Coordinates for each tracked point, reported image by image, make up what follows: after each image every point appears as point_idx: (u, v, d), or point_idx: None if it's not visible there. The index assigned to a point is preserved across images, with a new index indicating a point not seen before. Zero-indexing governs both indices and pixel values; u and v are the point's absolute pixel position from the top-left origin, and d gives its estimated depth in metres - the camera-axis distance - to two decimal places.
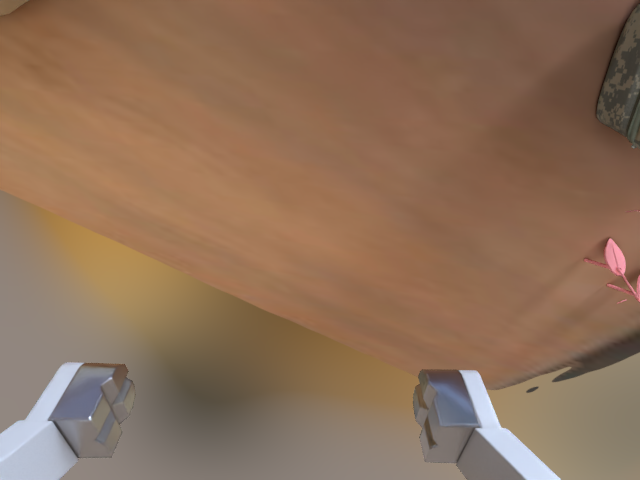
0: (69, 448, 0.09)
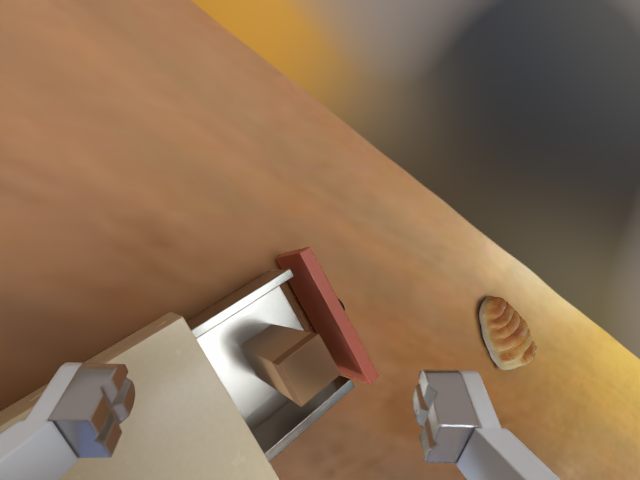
0: (69, 448, 0.09)
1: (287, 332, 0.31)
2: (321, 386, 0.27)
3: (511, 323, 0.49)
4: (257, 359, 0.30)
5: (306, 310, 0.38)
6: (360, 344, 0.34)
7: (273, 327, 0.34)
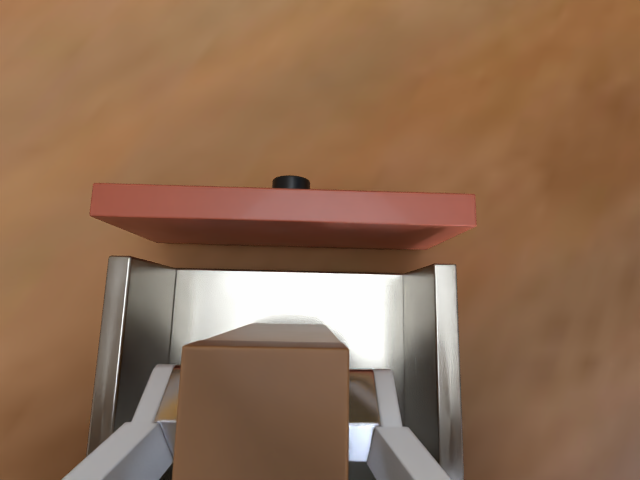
0: (168, 449, 0.09)
1: None
2: (337, 437, 0.08)
3: None
4: None
5: (276, 244, 0.18)
6: (376, 195, 0.13)
7: None
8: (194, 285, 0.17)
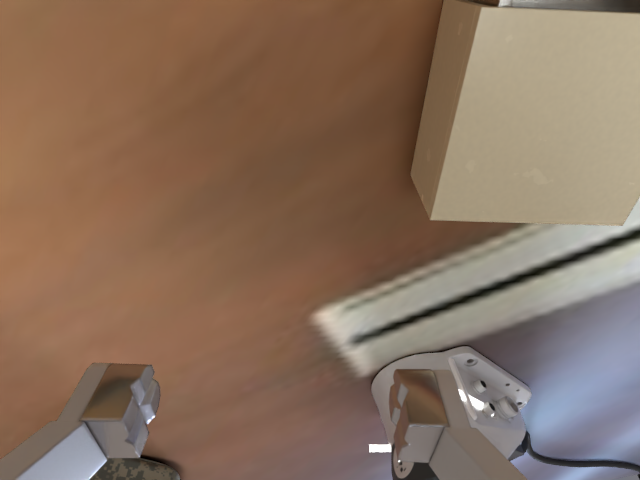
0: (99, 448, 0.09)
1: None
2: None
3: None
4: None
5: None
6: None
7: None
8: None
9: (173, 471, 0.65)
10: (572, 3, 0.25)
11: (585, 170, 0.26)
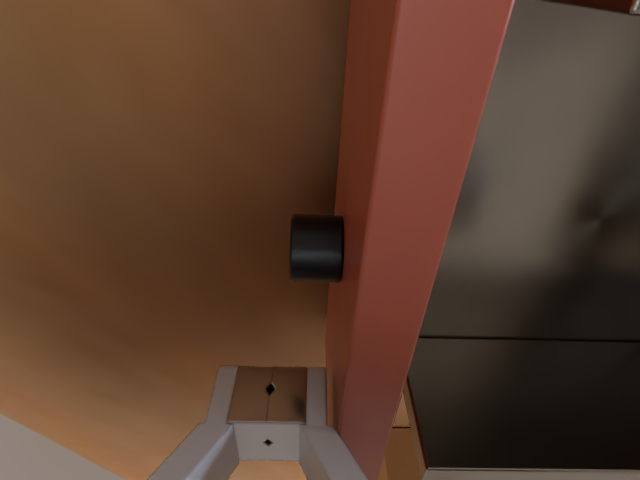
0: (236, 450, 0.09)
1: None
2: None
3: None
4: None
5: None
6: (385, 189, 0.05)
7: None
8: (423, 320, 0.13)
9: None
10: None
11: None
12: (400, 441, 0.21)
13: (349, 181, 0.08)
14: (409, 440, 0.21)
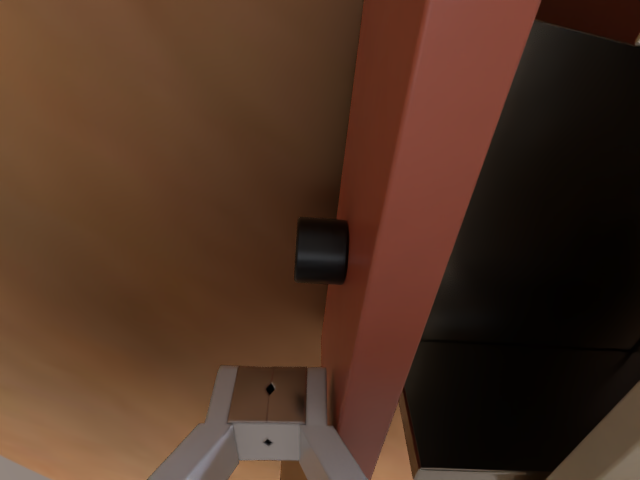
0: (236, 450, 0.09)
1: None
2: None
3: None
4: None
5: None
6: (398, 200, 0.05)
7: None
8: None
9: None
10: None
11: None
12: None
13: (357, 187, 0.08)
14: None
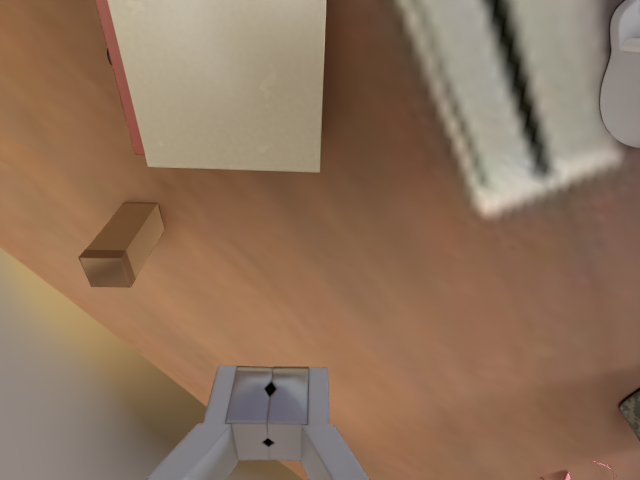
0: (235, 450, 0.09)
1: None
2: (99, 260, 0.33)
3: None
4: (149, 248, 0.39)
5: None
6: (100, 11, 0.25)
7: None
8: None
9: None
10: None
11: (257, 32, 0.25)
12: (130, 206, 0.40)
13: None
14: (135, 206, 0.40)
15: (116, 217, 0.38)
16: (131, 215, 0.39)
